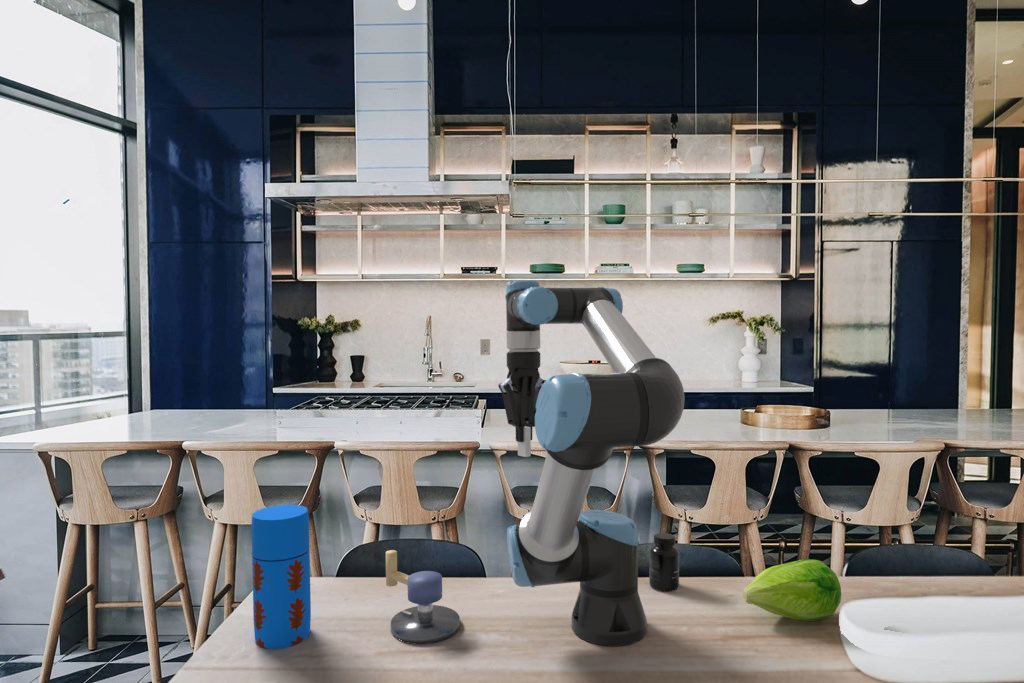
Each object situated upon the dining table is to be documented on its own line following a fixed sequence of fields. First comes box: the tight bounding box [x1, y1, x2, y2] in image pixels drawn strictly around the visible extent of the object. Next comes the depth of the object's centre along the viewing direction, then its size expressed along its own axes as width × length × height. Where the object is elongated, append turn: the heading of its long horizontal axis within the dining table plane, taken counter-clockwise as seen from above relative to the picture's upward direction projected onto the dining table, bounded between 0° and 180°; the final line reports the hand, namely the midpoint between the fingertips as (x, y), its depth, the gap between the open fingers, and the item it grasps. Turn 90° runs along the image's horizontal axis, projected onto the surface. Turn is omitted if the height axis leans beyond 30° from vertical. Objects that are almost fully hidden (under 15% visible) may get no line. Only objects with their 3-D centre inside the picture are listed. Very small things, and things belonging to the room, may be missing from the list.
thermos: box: [251, 504, 312, 650], centre depth 131 cm, size 11×11×25 cm
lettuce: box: [742, 558, 842, 622], centre depth 137 cm, size 14×20×12 cm
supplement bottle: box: [648, 532, 680, 593], centre depth 154 cm, size 7×7×12 cm
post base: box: [390, 603, 461, 645], centre depth 135 cm, size 14×14×6 cm
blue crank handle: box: [385, 549, 443, 605], centre depth 137 cm, size 16×7×7 cm, turn 48°
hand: (524, 455), depth 147 cm, fingers closed
